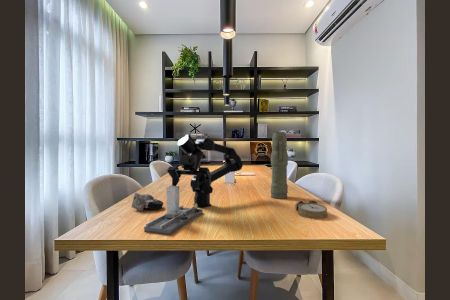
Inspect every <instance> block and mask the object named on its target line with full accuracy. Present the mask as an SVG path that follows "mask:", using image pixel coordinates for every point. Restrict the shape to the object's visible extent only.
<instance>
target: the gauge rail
mask: <svg viewBox="0 0 450 300" xmlns="http://www.w3.org/2000/svg"><path fill="white" fill-rule="evenodd" d="M193 204H194V203H193ZM179 210H186V215H185V216H184V215H183V214H180V215H178V216H176V217H174V218H167V217H165V213H164V214H162V215H160V216H158V217H157V218H155V219H153V220H151V221H148V222H146V223H145V226H144V229H143V230H144V232H147V233H153V234H162V235H169V236H171V235H172V234H174V233H176V232H177V231H178V230H180V229H181V228H183V227H184V226H185V225H187V224H189V223H191V222H192V221H193V220H194V219H196V218H197V217H199V216H200V215H202V214H203V212H204V211H203V209H202V208H201V209H200V208H198V207H197V203H195V204H194V205H193V206H192V207H184V205H179Z"/></svg>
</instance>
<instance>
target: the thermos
mask: <svg viewBox="0 0 450 300" xmlns="http://www.w3.org/2000/svg"><path fill="white" fill-rule="evenodd" d="M271 138H272V139H271V142H272V143H271V144H272V145H271V147H272V149H271V154H270V166H271V184H270V198H271V199H274V200H286V199H288V193H289V192H288V191H289V190H288V183H287V182H288V181H287V180H288V177H287V176H288V174H287V173H288V163H289V158H288V157H289V155H288V152H287V151H288V149H287V147H288V140H287V139H288V137H287V134H286V133H285V132H284V131H276V132H275V131H274V133H273V134H272V137H271Z"/></svg>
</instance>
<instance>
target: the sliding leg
mask: <svg viewBox="0 0 450 300" xmlns="http://www.w3.org/2000/svg"><path fill="white" fill-rule="evenodd" d="M179 207H180V185H176V186H172V185H169V186H166V212H165V213H164V214H165V217H167V218H174V217H176V216H178V215H180V214H183V215H184V216H185V215H186V210H179Z"/></svg>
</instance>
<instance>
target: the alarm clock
mask: <svg viewBox="0 0 450 300" xmlns="http://www.w3.org/2000/svg"><path fill="white" fill-rule="evenodd" d="M294 206H295V210H296V211H297V213H298V215H299V216H301V217H303V218H307V219H313V220H314V219H315V220H319V219H321V220H322V219H326V218H327V217H328V216H329V214H328V207H327V206H325V205H323V204H320V203H318V202H317V201H315V200H309V201H308V202H307V201H306V202H305V201H303V200H299V201H297V202H296V203H295V205H294Z"/></svg>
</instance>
